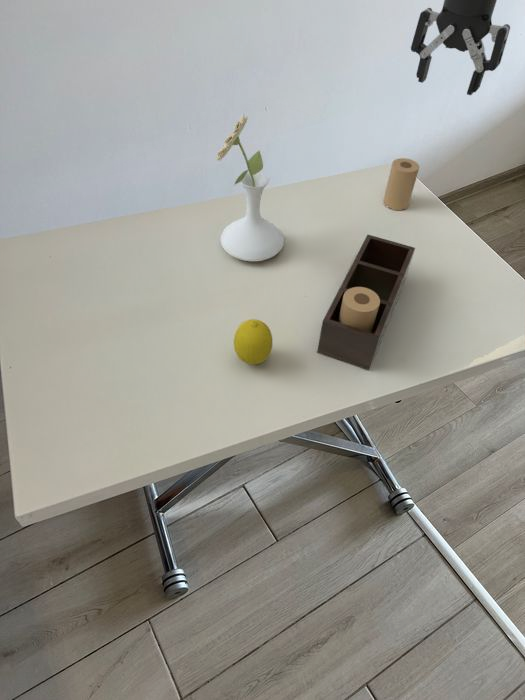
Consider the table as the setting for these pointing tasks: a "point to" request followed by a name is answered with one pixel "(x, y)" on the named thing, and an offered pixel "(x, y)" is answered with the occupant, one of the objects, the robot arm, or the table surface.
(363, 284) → the rack
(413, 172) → the towel roll
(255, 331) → the lemon
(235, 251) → the flower in vase
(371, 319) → the roll
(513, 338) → the table surface
